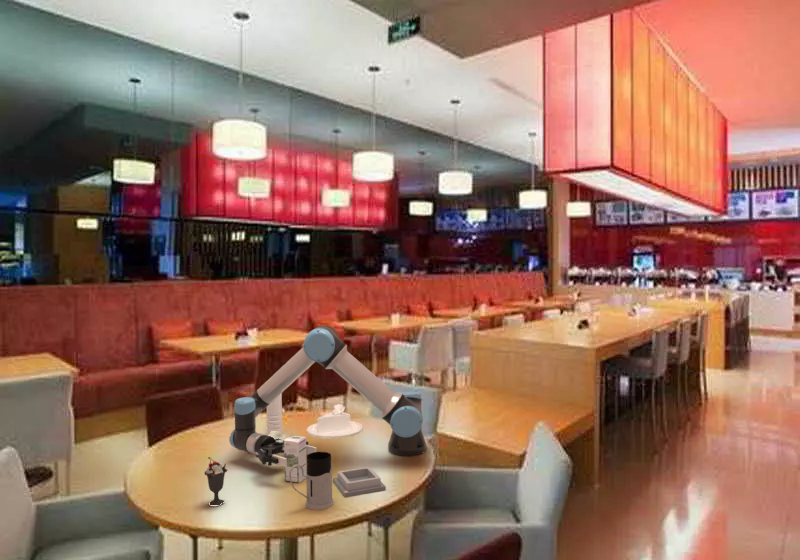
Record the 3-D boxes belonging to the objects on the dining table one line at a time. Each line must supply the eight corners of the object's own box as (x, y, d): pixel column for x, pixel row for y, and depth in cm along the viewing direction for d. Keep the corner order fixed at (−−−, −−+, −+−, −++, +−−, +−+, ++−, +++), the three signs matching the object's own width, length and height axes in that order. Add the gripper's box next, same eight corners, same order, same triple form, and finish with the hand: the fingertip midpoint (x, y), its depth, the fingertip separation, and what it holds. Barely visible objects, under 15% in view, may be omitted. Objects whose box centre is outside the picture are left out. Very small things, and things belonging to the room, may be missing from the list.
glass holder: (338, 504, 172) (338, 456, 172) (296, 517, 164) (295, 466, 164) (325, 495, 180) (324, 449, 179) (284, 506, 171) (283, 458, 171)
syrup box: (307, 477, 195) (306, 436, 195) (298, 483, 189) (298, 441, 189) (292, 475, 197) (292, 434, 196) (284, 481, 191) (283, 439, 191)
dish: (340, 419, 268) (340, 396, 268) (373, 430, 249) (373, 405, 249) (296, 430, 251) (295, 405, 251) (328, 443, 233) (328, 416, 233)
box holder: (371, 475, 196) (371, 464, 196) (385, 490, 183) (385, 478, 183) (332, 481, 191) (332, 470, 191) (344, 497, 178) (344, 485, 178)
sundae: (200, 506, 172) (199, 458, 172) (215, 497, 179) (214, 451, 178) (217, 509, 170) (216, 460, 170) (231, 500, 176) (231, 453, 176)
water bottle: (281, 440, 237) (280, 381, 236) (266, 441, 236) (265, 382, 235) (283, 434, 245) (282, 377, 244) (268, 434, 244) (267, 378, 244)
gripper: (288, 446, 214) (327, 457, 201) (233, 465, 194) (272, 479, 181) (288, 426, 214) (327, 437, 201) (232, 444, 194) (272, 456, 181)
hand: (301, 457), depth 191 cm, fingers open, 13 cm apart
